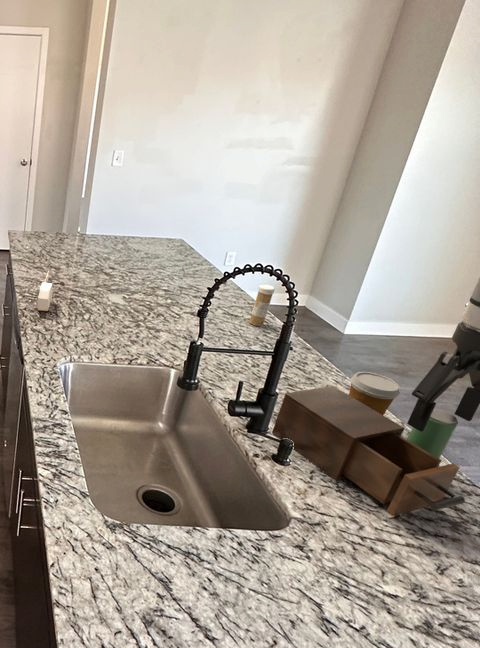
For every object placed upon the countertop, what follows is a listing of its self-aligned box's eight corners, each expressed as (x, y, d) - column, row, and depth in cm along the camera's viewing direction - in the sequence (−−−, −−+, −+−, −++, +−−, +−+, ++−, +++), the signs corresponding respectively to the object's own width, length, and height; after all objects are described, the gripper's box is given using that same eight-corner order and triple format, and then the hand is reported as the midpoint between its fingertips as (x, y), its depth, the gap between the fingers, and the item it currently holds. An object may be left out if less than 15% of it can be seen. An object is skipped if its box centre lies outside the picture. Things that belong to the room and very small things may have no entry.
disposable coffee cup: (389, 427, 128) (408, 384, 123) (371, 440, 123) (391, 396, 118) (346, 408, 135) (363, 367, 130) (328, 419, 130) (344, 377, 125)
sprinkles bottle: (248, 320, 183) (259, 283, 178) (263, 323, 182) (274, 285, 176) (248, 324, 180) (259, 287, 174) (263, 328, 178) (275, 290, 172)
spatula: (57, 285, 213) (47, 284, 214) (59, 265, 210) (49, 264, 211) (48, 314, 178) (36, 313, 179) (51, 291, 175) (38, 290, 176)
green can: (437, 476, 113) (466, 421, 107) (416, 481, 111) (445, 425, 105) (408, 458, 118) (435, 404, 112) (388, 462, 116) (414, 408, 110)
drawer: (463, 519, 100) (485, 482, 96) (415, 532, 97) (435, 495, 93) (365, 453, 117) (380, 419, 113) (320, 463, 114) (334, 428, 110)
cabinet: (384, 469, 114) (404, 427, 109) (335, 480, 110) (354, 438, 105) (317, 424, 128) (332, 385, 124) (271, 432, 124) (285, 393, 120)
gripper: (506, 313, 106) (461, 403, 115) (416, 326, 99) (376, 421, 109) (553, 329, 100) (502, 423, 109) (460, 343, 93) (413, 443, 102)
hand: (439, 422), depth 109 cm, fingers open, 13 cm apart
